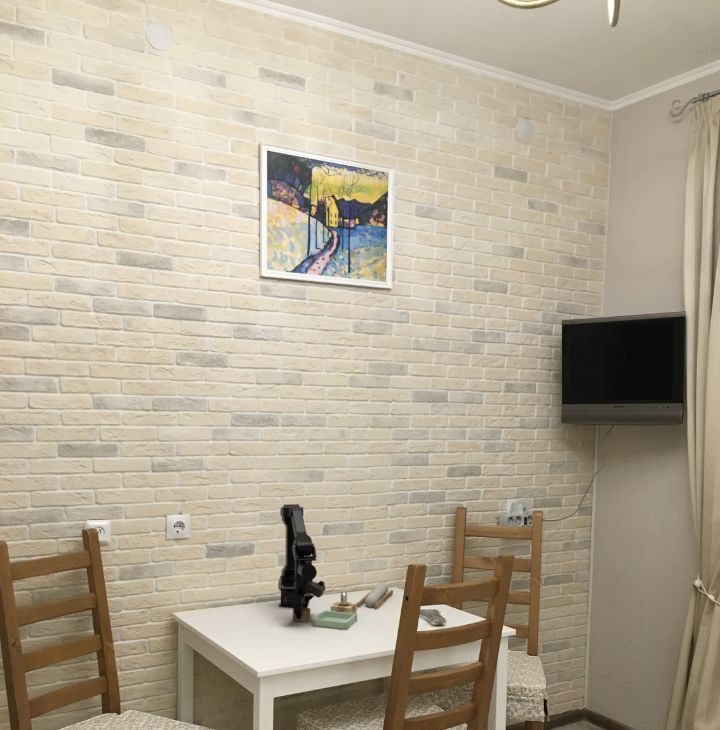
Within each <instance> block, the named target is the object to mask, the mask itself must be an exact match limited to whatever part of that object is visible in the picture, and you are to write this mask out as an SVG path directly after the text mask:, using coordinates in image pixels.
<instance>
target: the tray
mask: <svg viewBox="0 0 720 730" xmlns="http://www.w3.org/2000/svg"><path fill="white" fill-rule="evenodd" d="M357 621H358V613H355V614H354V613H344V612H335V611H331V610H325V609H324V610H322V611H321V612H320V613H319V614H317V615H316V616H315V617H314V618H312V619H311V622H312V623H311V624H312V625H311V626H312V627H314V626H316V627H317V628H322V629H324V628H325V629H333V630H341V631H347V630H348V629H349V628H351V627H352V626H353V625H354V624H355V623H357ZM354 622H355V623H354ZM353 623H354V624H353ZM352 624H353V625H352ZM351 625H352V626H351ZM350 626H351V627H350Z"/></svg>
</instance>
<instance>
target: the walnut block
mask: <svg viewBox="0 0 720 730" xmlns="http://www.w3.org/2000/svg"><path fill="white" fill-rule="evenodd" d="M309 620H311V607H308V608H303V607H302V612H301V618H300V619H297V617H296V615H295V613H294V610H293V609H292V622H296V621H298V623H304V622H305V623H307V622H309ZM306 621H307V622H306Z"/></svg>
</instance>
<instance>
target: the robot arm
mask: <svg viewBox="0 0 720 730" xmlns="http://www.w3.org/2000/svg"><path fill="white" fill-rule="evenodd" d="M279 513H280V517H281V521H282V522H283V524H284V526H285V563H284V566H283V567H282V569H281V572H280V573H281V574H280V576H279V579H278V585H277V588H278V590H279V591H280V603H279V604H278V606H279V607H285V608H292V611H293V610H294V613H295V615H296V617H297V619H300V618H301V612H302V607H303V608H309V604H310V601H312V599H314V597H316V598H318V599H319V598H321V597H322V596H323V595H324V593H325V591H326V590H327V589H326V586H325V583H326V582H325V581H323V580H320V581H318V582H315V581H314V579H315V578H316V576H317V574H318V571H317V568H316V566H314V565H313V563H312V562H315V561H317V552H316V546H315V543H314V542H313V540H312V537H310V535H308V533H307V530H306V525H305V520H304V506H300V504H297V503H296V504H295V503H294V504H293V503H292V504H288V503H287V504H283V506H282V507H280V511H279Z"/></svg>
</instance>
